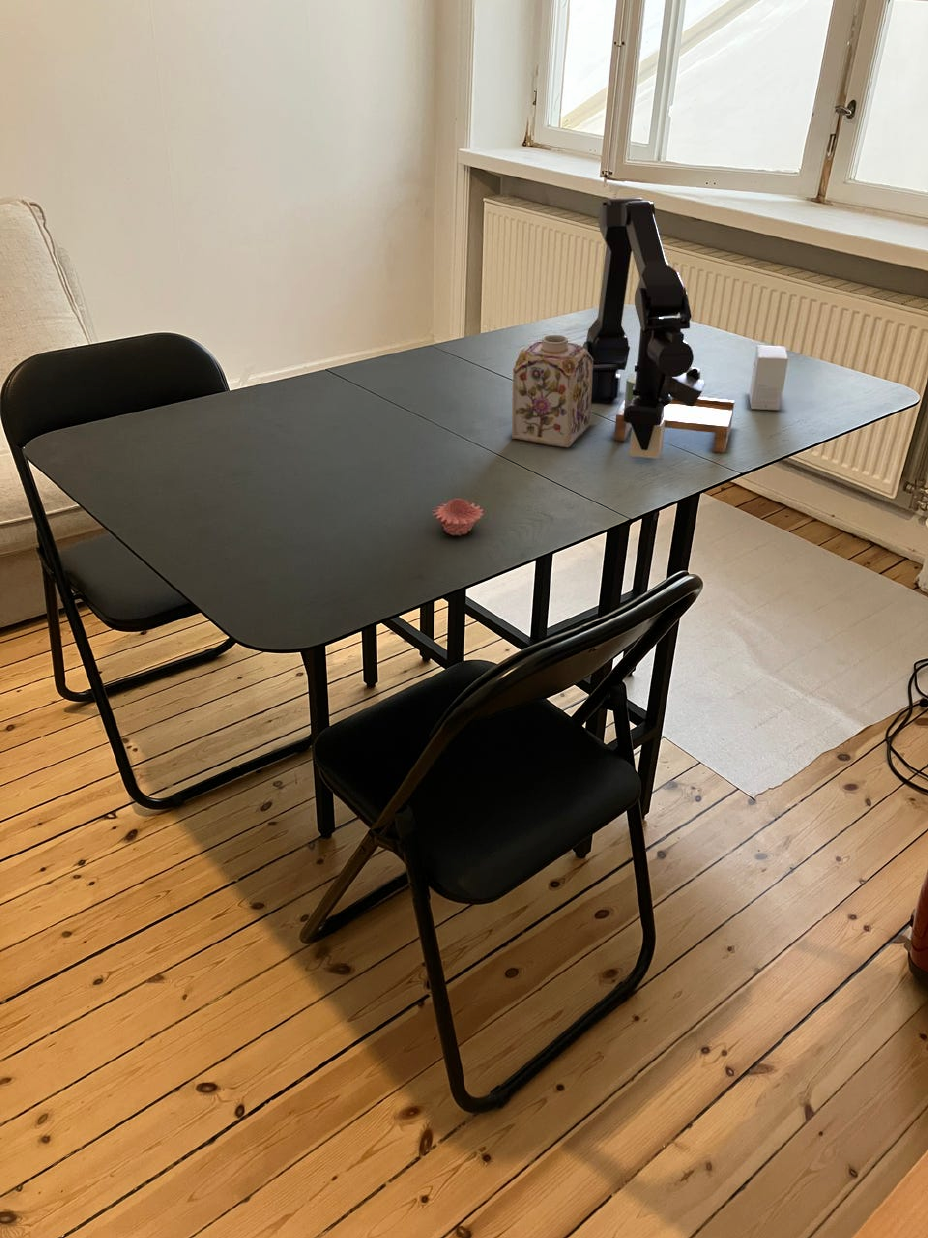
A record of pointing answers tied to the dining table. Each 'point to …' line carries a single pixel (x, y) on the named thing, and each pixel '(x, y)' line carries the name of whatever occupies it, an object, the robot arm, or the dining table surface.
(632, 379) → the ceramic canister
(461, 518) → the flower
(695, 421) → the shelf
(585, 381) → the decorative jar
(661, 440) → the cream block
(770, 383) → the small box
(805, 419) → the dining table surface
